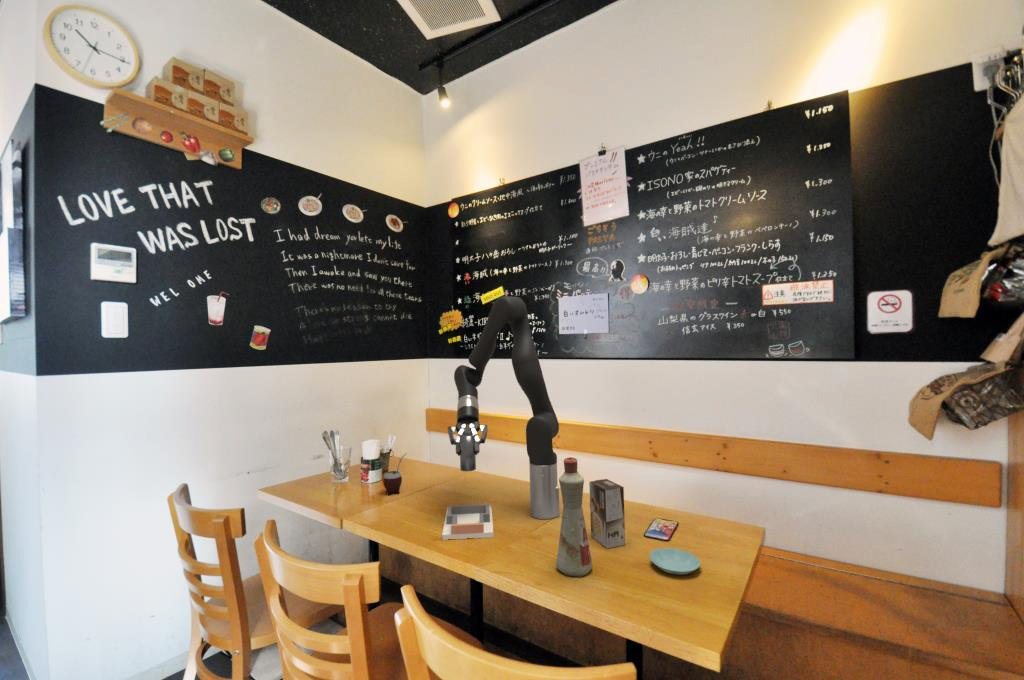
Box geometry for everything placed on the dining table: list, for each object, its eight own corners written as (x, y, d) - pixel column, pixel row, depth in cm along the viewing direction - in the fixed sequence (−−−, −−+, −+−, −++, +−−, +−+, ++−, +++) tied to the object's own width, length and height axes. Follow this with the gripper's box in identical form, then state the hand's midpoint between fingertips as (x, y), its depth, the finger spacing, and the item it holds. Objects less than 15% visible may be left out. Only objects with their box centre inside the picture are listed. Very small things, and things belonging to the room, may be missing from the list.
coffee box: (626, 545, 123) (625, 487, 123) (606, 549, 121) (605, 490, 121) (608, 532, 132) (606, 478, 132) (589, 536, 129) (588, 481, 130)
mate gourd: (379, 495, 171) (378, 456, 171) (392, 488, 178) (391, 451, 178) (395, 497, 168) (394, 457, 168) (407, 490, 175) (407, 452, 175)
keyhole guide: (491, 510, 152) (491, 498, 152) (493, 537, 130) (493, 523, 130) (447, 512, 151) (447, 500, 151) (441, 540, 129) (441, 526, 129)
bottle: (553, 561, 114) (550, 453, 115) (587, 559, 115) (585, 451, 116) (559, 579, 106) (556, 461, 106) (596, 576, 106) (593, 460, 107)
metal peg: (476, 466, 146) (475, 433, 146) (475, 470, 141) (474, 436, 141) (460, 467, 145) (459, 434, 146) (459, 471, 140) (458, 436, 141)
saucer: (705, 565, 111) (705, 555, 111) (692, 585, 102) (691, 575, 102) (659, 552, 118) (659, 543, 118) (642, 570, 109) (642, 561, 109)
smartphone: (642, 535, 128) (655, 517, 141) (642, 538, 128) (655, 520, 141) (669, 540, 124) (679, 521, 137) (669, 544, 124) (679, 524, 137)
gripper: (446, 405, 151) (444, 448, 139) (488, 404, 152) (489, 446, 140) (448, 418, 157) (446, 461, 144) (488, 417, 157) (490, 459, 145)
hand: (467, 453), depth 142 cm, fingers closed on metal peg, 5 cm apart
